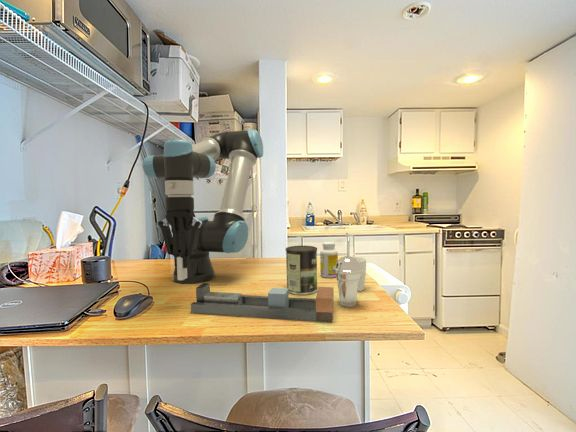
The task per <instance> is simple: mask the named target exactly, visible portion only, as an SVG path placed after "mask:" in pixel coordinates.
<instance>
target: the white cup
mask: <svg viewBox="0 0 576 432" xmlns="http://www.w3.org/2000/svg"><path fill="white" fill-rule="evenodd" d="M352 257H353V258H355V259H356V260H357V261H358V262H359V264H360V267H362V268H363V272H362V273H360V278H359V282H358V291H357V292H361V291H362V290H363V291H364V290H365V288H366V284H365V283H366V282H365V281H366V274H367V273H366V272H367V258H365V257H362V256H352Z"/></svg>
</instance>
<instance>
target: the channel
mask: <svg viewBox="0 0 576 432" xmlns="http://www.w3.org/2000/svg"><path fill="white" fill-rule="evenodd" d="M334 293H335V292H334V286H332V287H331V286H318V288H317V292H316V296H315V298H307V297H306V298H305V297H290V296H289V308H285V307H268V295H254V294H253V295H250V294H249V295H248V294H242V301H243V305H234V304H217V303H201V302H197V301H193V302H191V303H190V314H199V315H201V314H202V315H214V316H215V315H216V316H230V317H243V318H244V317H245V318H260V319H276V320H290V321H302V322H303V321H305V322H316V323H317V322H320V323H322V322H323V323H333V319H334V317H333V316H334V309H335V308H334V306H335V305H334V304H335V303H334V301H335V300H334V298H335V295H334Z"/></svg>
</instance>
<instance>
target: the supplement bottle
mask: <svg viewBox="0 0 576 432" xmlns="http://www.w3.org/2000/svg"><path fill="white" fill-rule="evenodd" d="M335 247H336V243H335V242H333V241H325V242H324V241H323V242H322V248H321V250H320V254H319V257H320V261H319V262H320V276H321V277H322V278H327V279H328V278H329V279H330V278H331V279H332V278H336V272H334V271H333V267H334V266H336V263H337V261H338V260H339V258H338V256H339V255H338V253H339V252H338V250H337V249H336V248H335Z"/></svg>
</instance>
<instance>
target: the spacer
mask: <svg viewBox="0 0 576 432" xmlns="http://www.w3.org/2000/svg"><path fill="white" fill-rule="evenodd" d="M289 294H290V293H289V291H288V289H287V287H285V288H283V287H281V288H280V287H271V289H270V290H269V291H268V293H267V296H268V307H285V308H289V297H290V296H289Z"/></svg>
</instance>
